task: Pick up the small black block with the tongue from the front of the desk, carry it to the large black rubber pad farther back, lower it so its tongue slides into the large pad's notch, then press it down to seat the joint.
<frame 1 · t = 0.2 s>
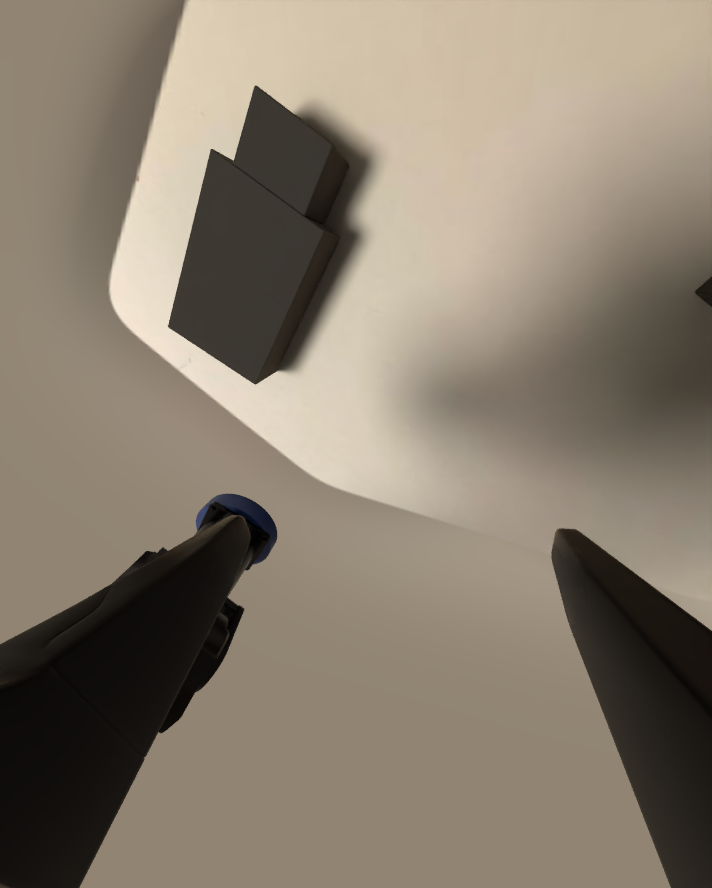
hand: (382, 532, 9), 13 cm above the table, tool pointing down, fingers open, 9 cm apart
small black block: (263, 283, 19), on the table
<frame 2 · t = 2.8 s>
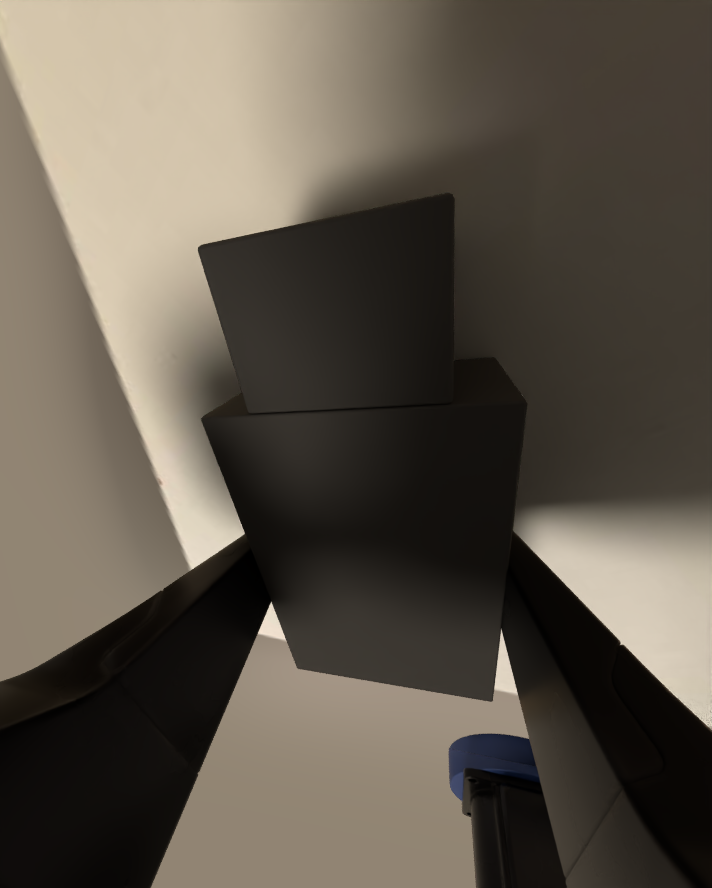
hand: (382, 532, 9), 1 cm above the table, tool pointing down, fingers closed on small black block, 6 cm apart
small black block: (386, 505, 10), on the table, touching gripper
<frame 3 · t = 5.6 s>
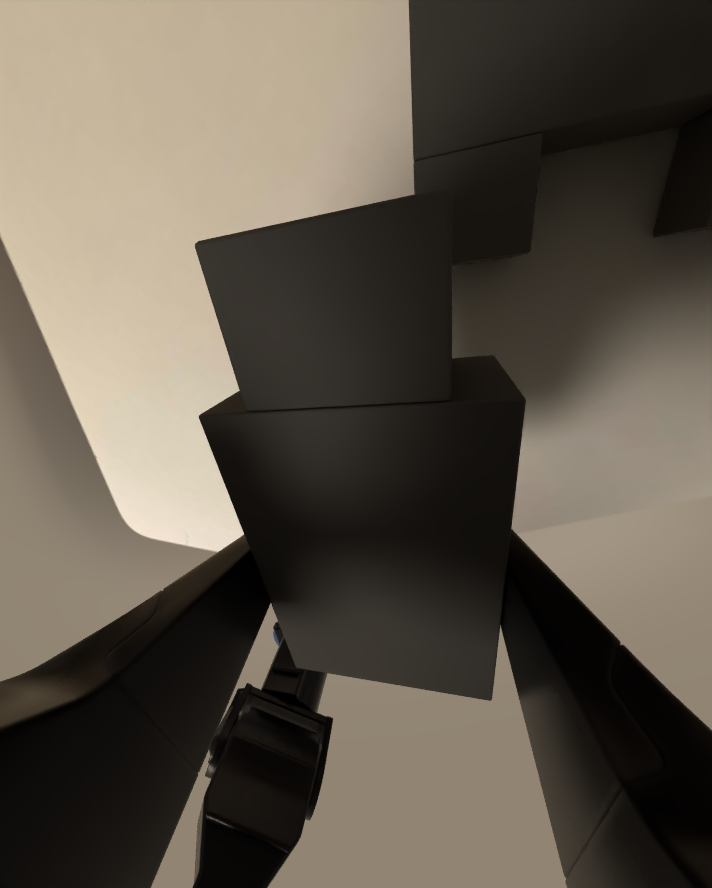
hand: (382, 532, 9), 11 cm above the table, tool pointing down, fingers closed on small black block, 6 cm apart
small black block: (385, 504, 10), point 10 cm above the table, touching gripper
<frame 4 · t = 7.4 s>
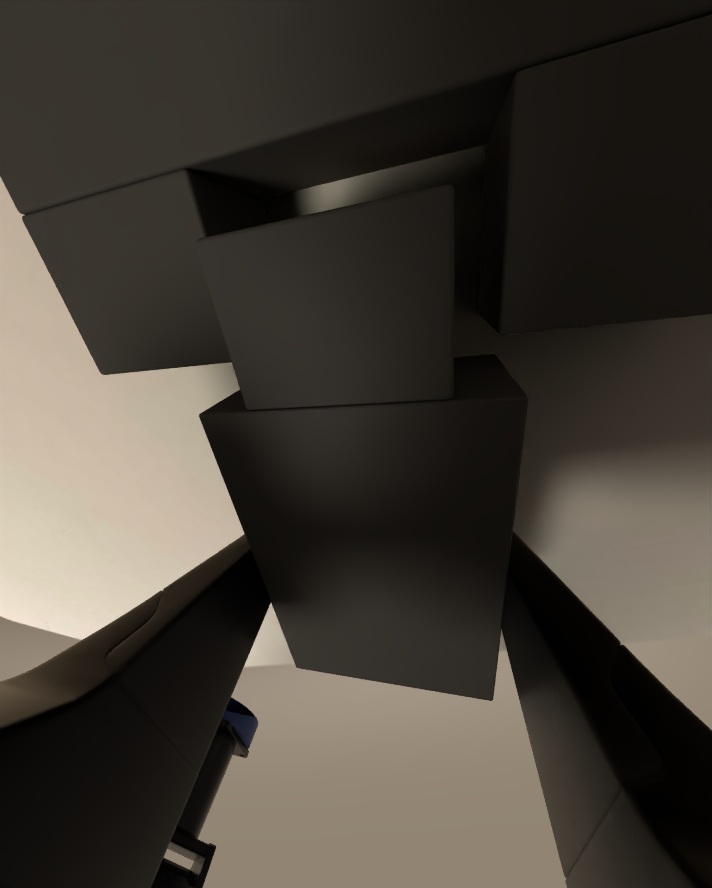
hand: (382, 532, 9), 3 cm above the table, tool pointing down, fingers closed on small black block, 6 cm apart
small black block: (386, 503, 10), point 2 cm above the table, touching gripper
when the fingers open (1 cm above the table, at t = 8.4 s): small black block stays where it is, on the table.
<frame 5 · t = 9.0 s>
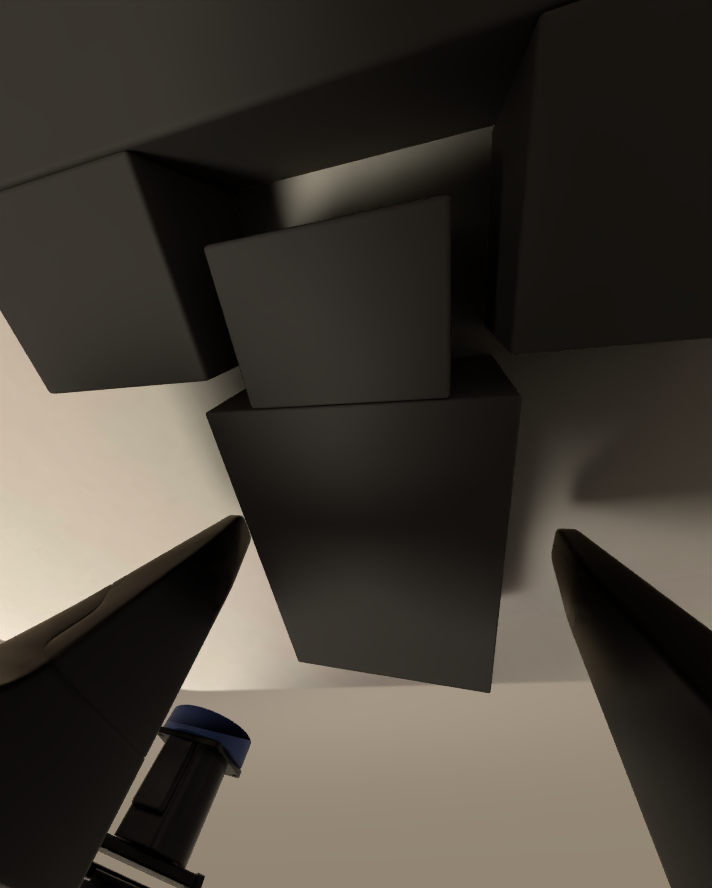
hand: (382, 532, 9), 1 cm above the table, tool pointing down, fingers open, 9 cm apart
small black block: (386, 500, 10), on the table
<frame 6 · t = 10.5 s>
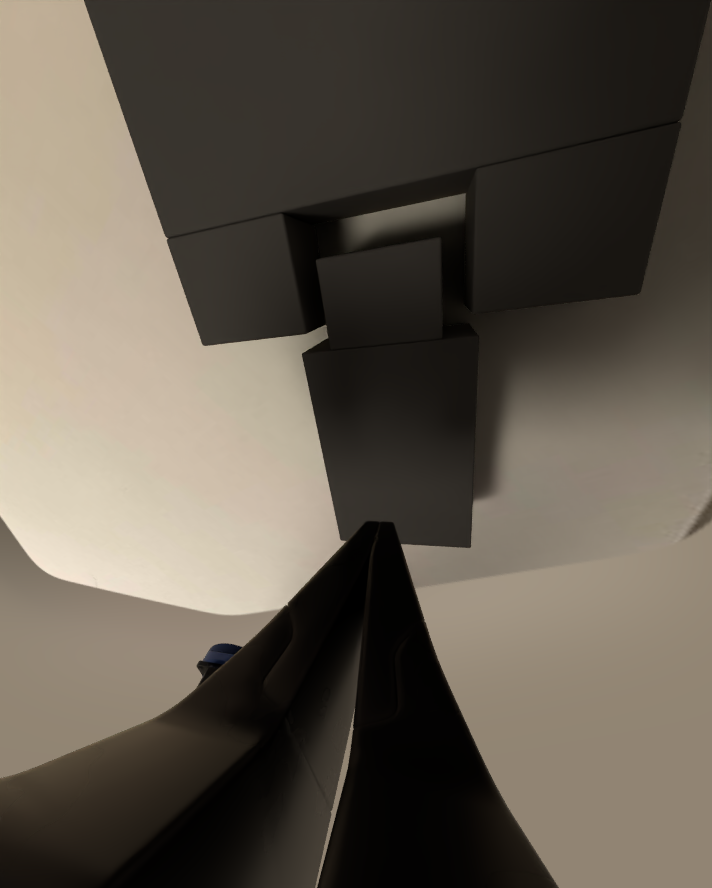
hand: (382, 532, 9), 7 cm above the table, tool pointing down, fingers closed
large black pad: (373, 48, 9), on the table
small black block: (401, 428, 15), on the table
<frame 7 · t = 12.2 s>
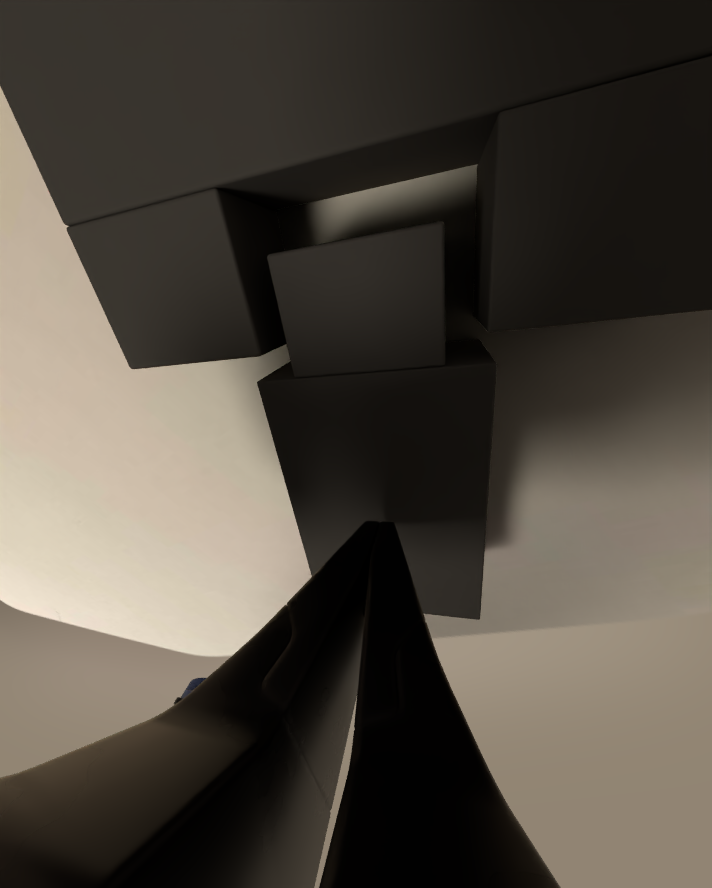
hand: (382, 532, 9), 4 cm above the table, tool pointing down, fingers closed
small black block: (393, 465, 12), on the table
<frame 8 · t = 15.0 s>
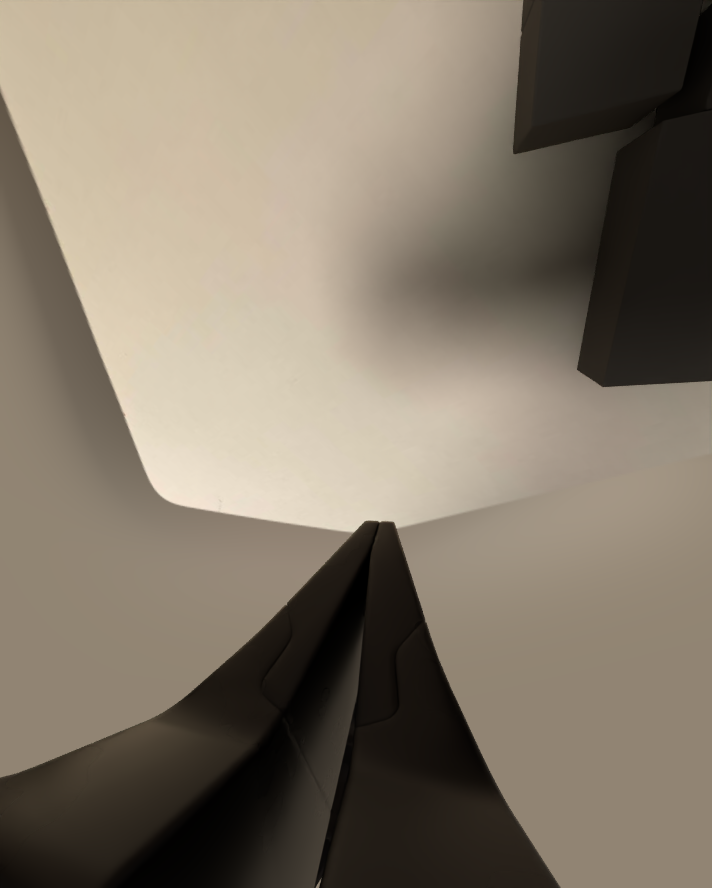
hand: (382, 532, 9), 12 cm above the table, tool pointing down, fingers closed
small black block: (671, 265, 14), on the table
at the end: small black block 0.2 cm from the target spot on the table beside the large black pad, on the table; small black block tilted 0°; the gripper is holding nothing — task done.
